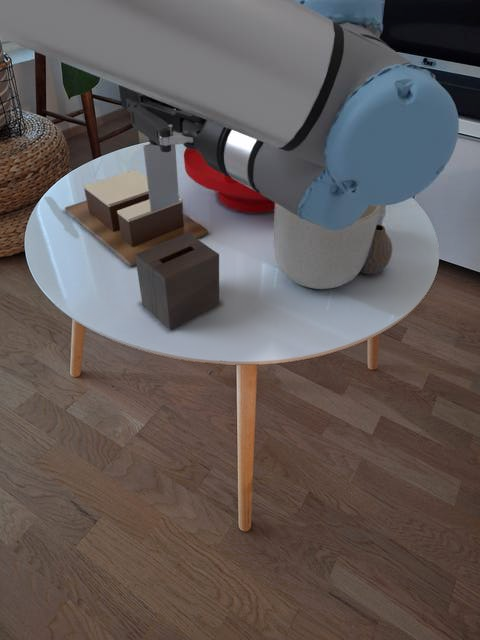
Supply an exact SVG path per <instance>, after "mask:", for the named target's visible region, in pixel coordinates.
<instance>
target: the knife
mask: <svg viewBox="0 0 480 640" xmlns="http://www.w3.org/2000/svg"><path fill="white" fill-rule="evenodd" d="M150 100H151V102H154V103H157V104H160V105H163V106H165V107H167V104H166V103H163V102H161V101H158V100H156V99H153V98H151V97H150ZM176 149H177V148H176V144H175V145H174V147H171V151H170V152H162V151H161V150H160V147H159V145H158V144H157V143H155V142H154V141H152V140H151V139H150V138H148V144H144V145H143V155H144V164H145V172H146V177H147V183H148V192H149V201H150V210H151V212H154V211H157V210H159V209H162V208H165V207H168V206H170V205H173V204H176V203H179V198H180V197H179V182H178V181H179V179H178V166H177V165H178V164H177V150H176Z"/></svg>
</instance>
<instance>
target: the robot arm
mask: <svg viewBox="0 0 480 640" xmlns="http://www.w3.org/2000/svg"><path fill="white" fill-rule="evenodd" d="M385 1H386V0H0V39H3V40H4V41H7V42H10V43H12V44H14V45H17V46H19V47H22V48H25V49H28V50H30V51H33V52H35V53H38V54H40V55H42V56H45V57H47V58H51V59H52V60H55V61H58V62H60V63H64V64H65V65H68V66H71V67H72V68H76V69H78V70H81V71H82V72H85V73H87V74H90V75H93V76H95V77H98V78H101V79H103V80H106V81H108V82H111V83H113V84H116V85H118V91H119V98H120V105H121V107H122V108H124V109H126V110H127V111H128V112H129V113H130V116H131V117H130V119H131V126H132V127H133V129H135V130H137V131H138V132H140V133H141V134H142V135H144V136H145V137H147V138H148V139H149V138H150V139H151V140H152V141H154V142H155V143H157V144H158V145H159V147H160V150H161V151H162V152H170V151H171V147H174V145H175V146H176V145H183V146H184V148H185V149H186V148H188V149H193V150H197V151H199V153H200V154H201V156H202V157H203V159H204V160H205V162H206V163H207V164H208V165H209V166H210V167H211V168H213V169H215V170H216V171H218V172H220V173H222V174H224V175H226V176H227V177H230V178H232V179H234V180H236V181H238V182H240V183H241V184H243V185H245V186H247V187H249V188H251V189H253V190H255V191H256V192H258V193H259V194H261V195H263V196H265V197H266V198H268V199H270V200H272V201H273V202H275V203H277V204H278V205H280V206H282V207H284V208H285V209H287V210H289V211H291V212H292V213H294V214H296V215H298V217H299V218H301V219H304V220H307V221H309V222H311V223H313V224H315V225H318V226H320V227H323V228H326V229H328V230H332V231H338V230H342V229H344V228H346V227H348V226H350V225H352V224H353V223H355V222H356V221H357V220H358V219H359V218H360V217H361V216H362V214H363V213H364V212H365V211H366V209H367V207H368V206H369V205H372V206H385V205H386V206H390V205H396V204H399V203H402V202H406V201H407V200H409V199H412V198H414V197H415V196H417V195H419V194H420V193H422V192H423V191H425V190H426V189H427V188H429V186H430V185H432V184H433V182H434V181H435V180H437V178H438V177H439V176H440V174H441V173H442V172H444V170H445V167H446V166H447V164H448V163H450V160H451V159H452V156H453V154H454V151H455V149H456V146H457V143H458V139H459V132H460V121H459V120H460V119H459V113H458V110H457V109H458V108H457V107H456V104H455V102H454V99H453V98H452V96H451V95H450V93H449V92H448V91H447V89H445V88H444V87H443V86H442V84H440V83H439V82H438V81H437V79H436V75H435V74H434V73H432V72H431V71H429V70H428V69H426V68H423V67H420V66H419V65H417V64H415V63H412V62H411V61H410V60H409V59H407V58H406V57H405V56H403V55H402V54H400V53H398V52H397V51H395V50H394V49H393V48H391V47H390V46H389V44H388V43H386V42H385V41H383V40H382V39H381V38H380V37H381V34H382V33H383V30H384V24H383V18H384V9H385ZM150 97H151V98H153V99H156V100H158V101H161V102H163V103H166V104H167V107H165V106H163V105H160V104H157V103H154V102H151V100H150Z"/></svg>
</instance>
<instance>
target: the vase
mask: <svg viewBox="0 0 480 640" xmlns="http://www.w3.org/2000/svg"><path fill="white" fill-rule="evenodd" d="M392 256H393V244H392V241H391V238H390V237H389V235H388V233H387V231H386V227H385V226H384V225H383V224H382V225H380V224H377V226H376V229H375V233H374V236H373V240H372V244H371V247H370V250H369V253H368V256H367V259H366V261H365V263H364V266H363V267H362V269H361V271H360V272H359V273H362V274H364V275H375V274H378V273H381V272H382V271H384V270H385V269H386V268H387V266H388V265H389V264H390V261H391V260H392V259H391V258H392Z"/></svg>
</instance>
